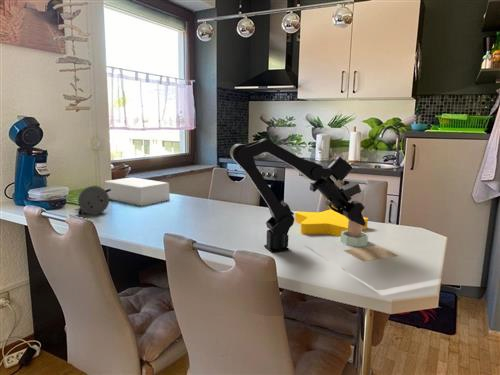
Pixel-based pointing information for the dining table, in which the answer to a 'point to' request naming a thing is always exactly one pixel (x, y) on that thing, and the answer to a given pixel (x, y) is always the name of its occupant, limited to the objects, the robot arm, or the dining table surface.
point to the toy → (93, 200)
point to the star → (323, 222)
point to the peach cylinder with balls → (354, 229)
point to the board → (370, 253)
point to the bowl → (354, 239)
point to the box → (137, 191)
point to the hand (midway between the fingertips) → (358, 221)
